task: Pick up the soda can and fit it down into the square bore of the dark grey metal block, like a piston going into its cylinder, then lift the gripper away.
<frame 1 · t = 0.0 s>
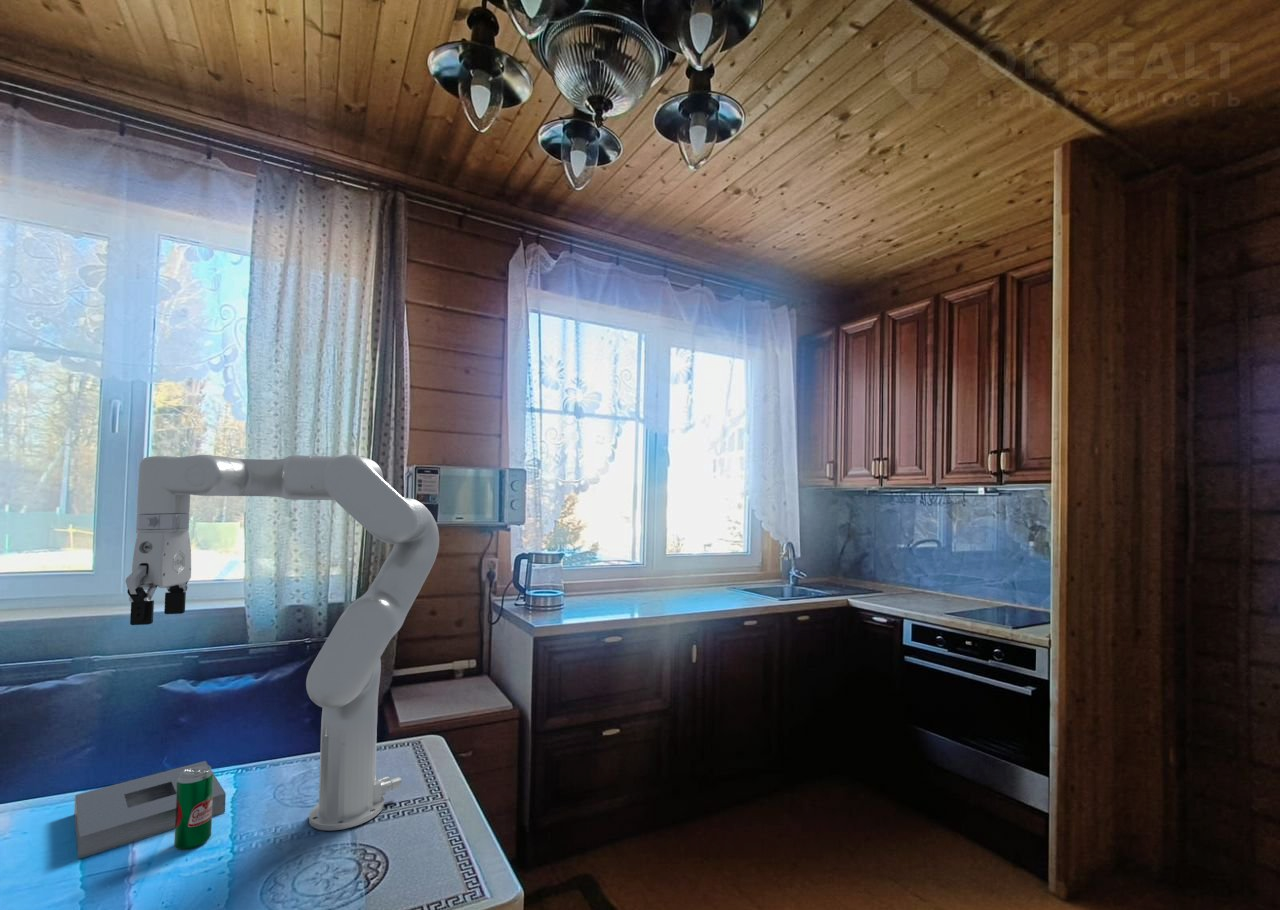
hand: (158, 618, 107), 37 cm above the table, tool pointing down, fingers open, 9 cm apart
soda can: (192, 844, 101), on the table
bore block: (149, 813, 111), on the table
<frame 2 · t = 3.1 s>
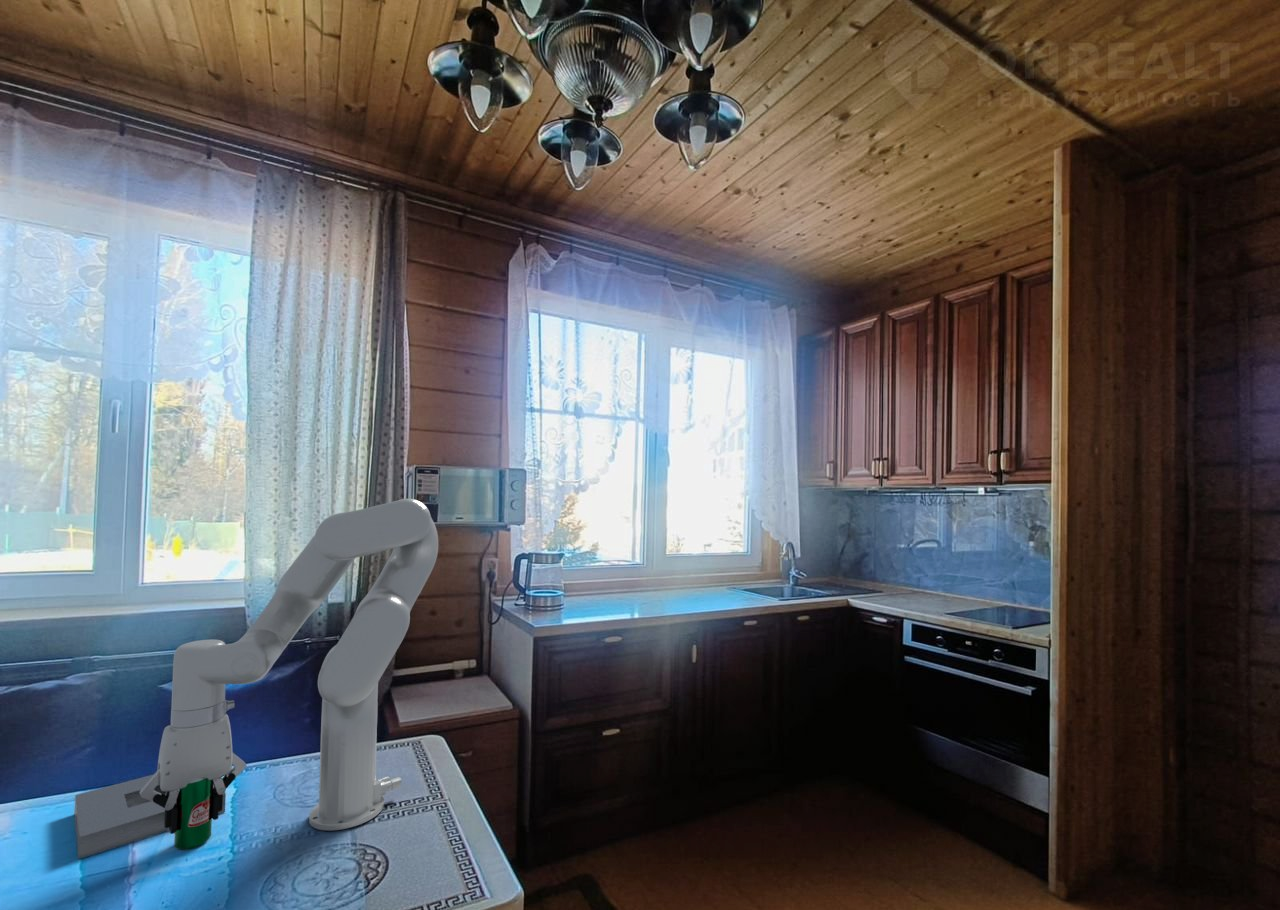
hand: (193, 822, 101), 3 cm above the table, tool pointing down, fingers closed on soda can, 5 cm apart
soda can: (192, 844, 101), on the table, touching gripper
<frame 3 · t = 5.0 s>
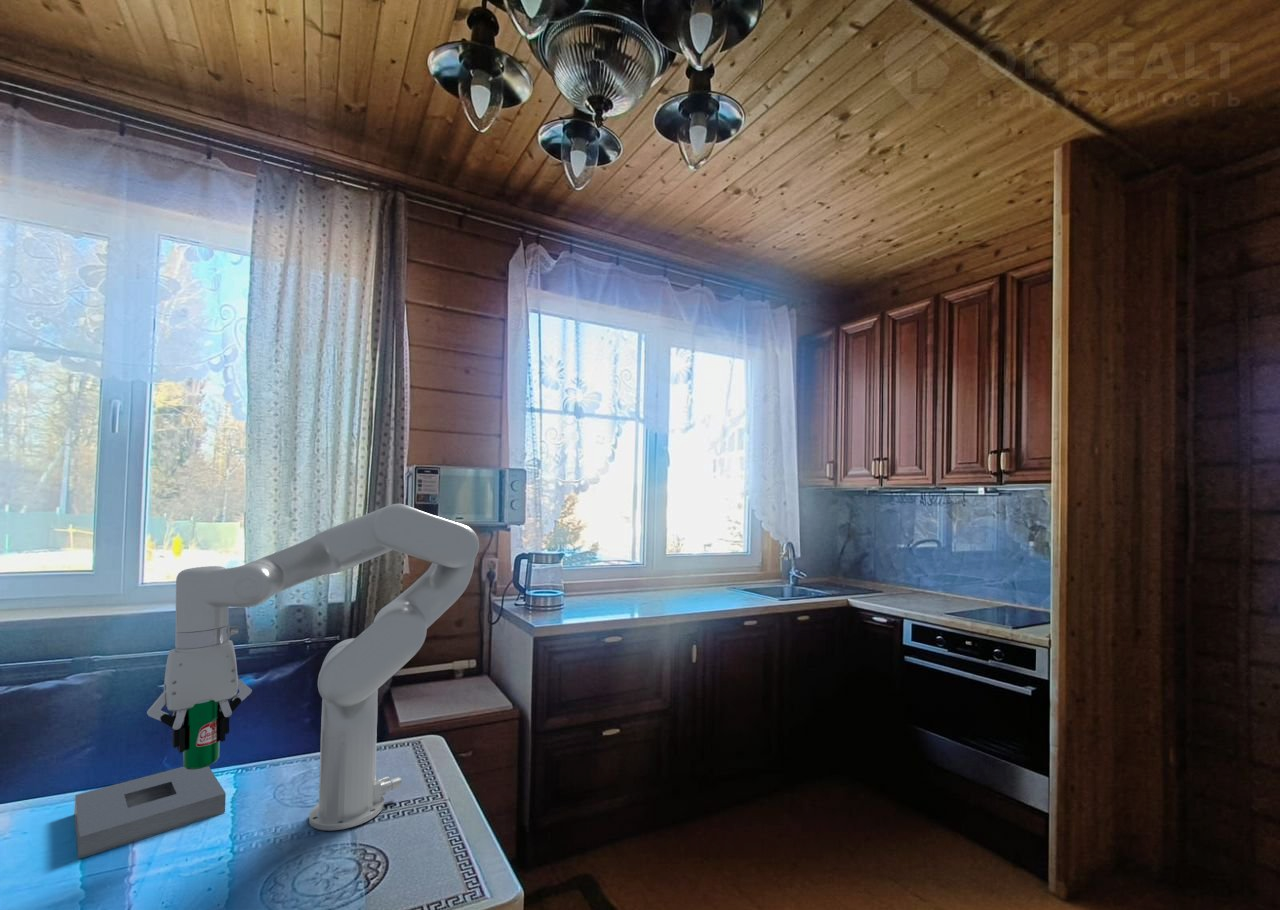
hand: (201, 743, 103), 16 cm above the table, tool pointing down, fingers closed on soda can, 5 cm apart
soda can: (201, 765, 102), point 13 cm above the table, touching gripper
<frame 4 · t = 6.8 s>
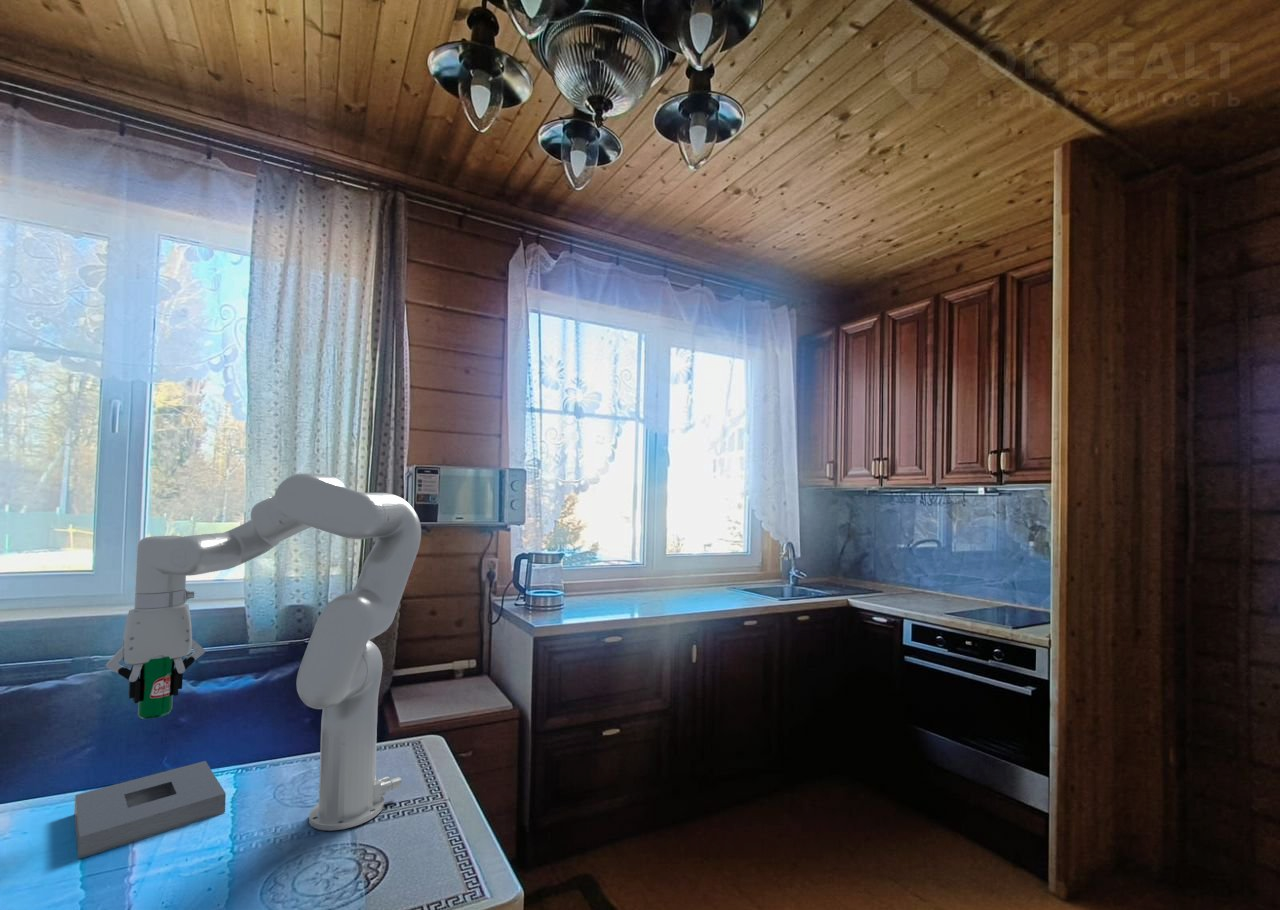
hand: (155, 696, 112), 21 cm above the table, tool pointing down, fingers closed on soda can, 5 cm apart
soda can: (155, 716, 112), point 18 cm above the table, touching gripper
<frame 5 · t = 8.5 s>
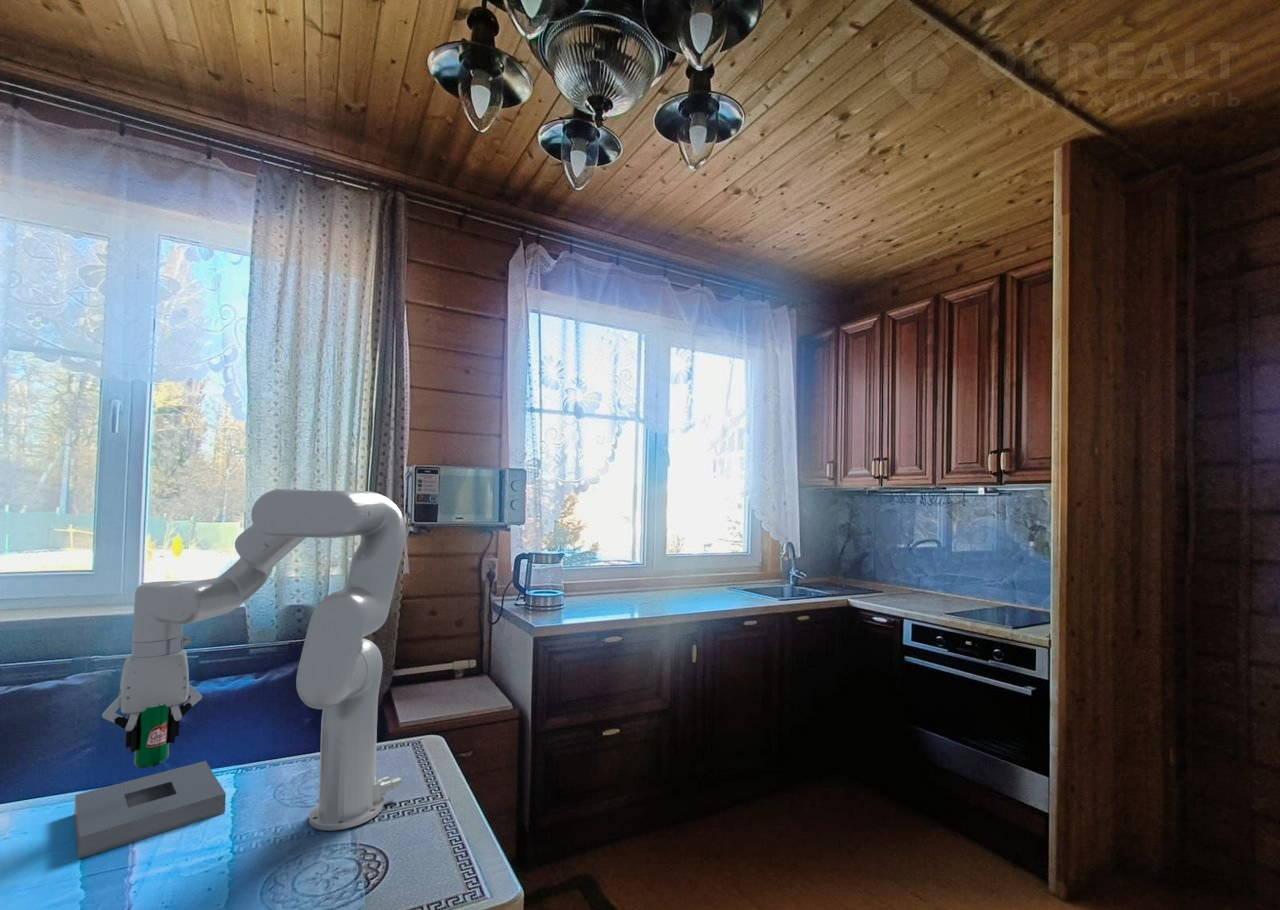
hand: (152, 744, 112), 13 cm above the table, tool pointing down, fingers closed on soda can, 5 cm apart
soda can: (151, 764, 112), point 9 cm above the table, touching gripper
when the fingers open (6 cm above the table, at t = 10.1 s): soda can drops 3 cm, resting in bore block.
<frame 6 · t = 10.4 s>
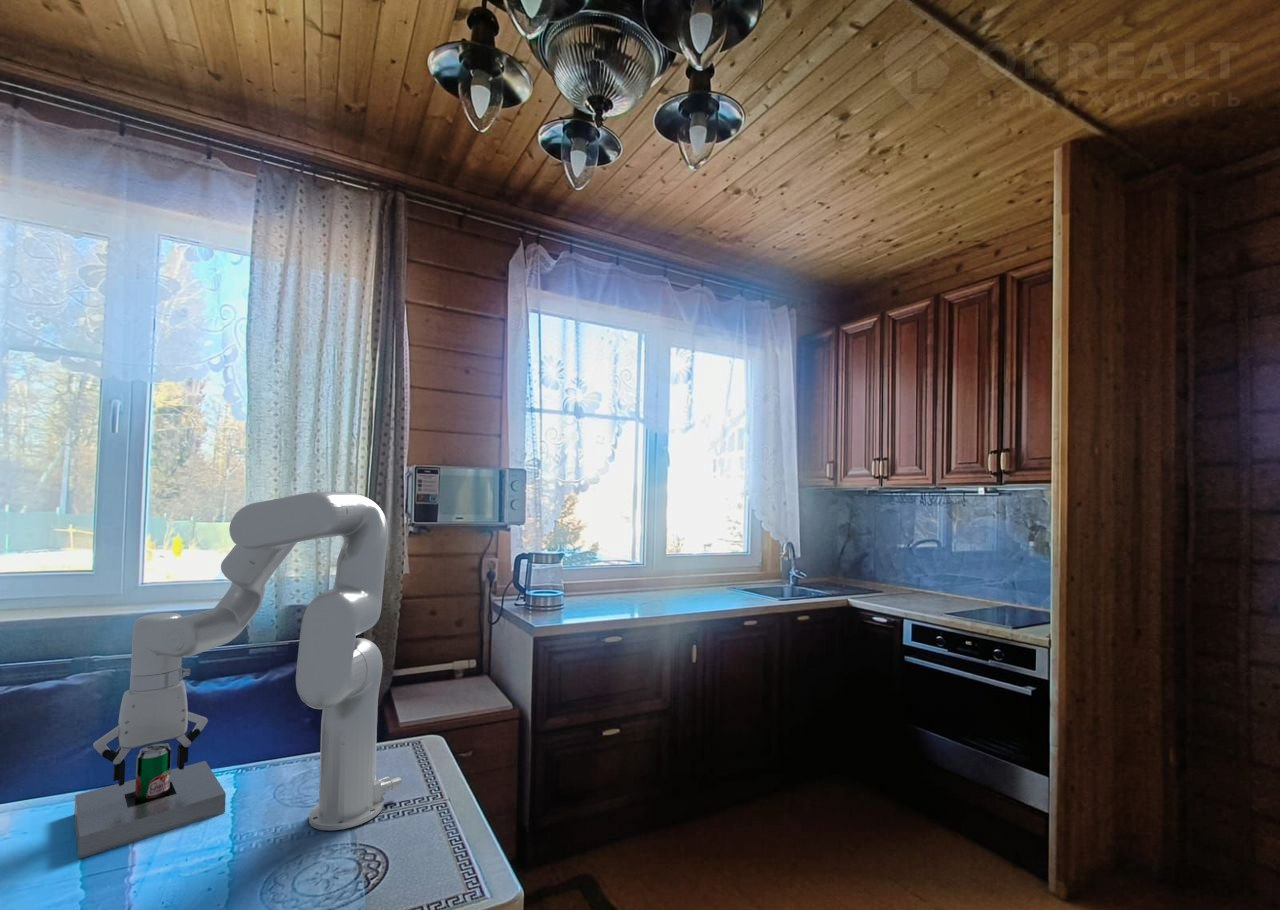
hand: (151, 774, 112), 7 cm above the table, tool pointing down, fingers open, 8 cm apart
soda can: (151, 814, 111), resting in bore block
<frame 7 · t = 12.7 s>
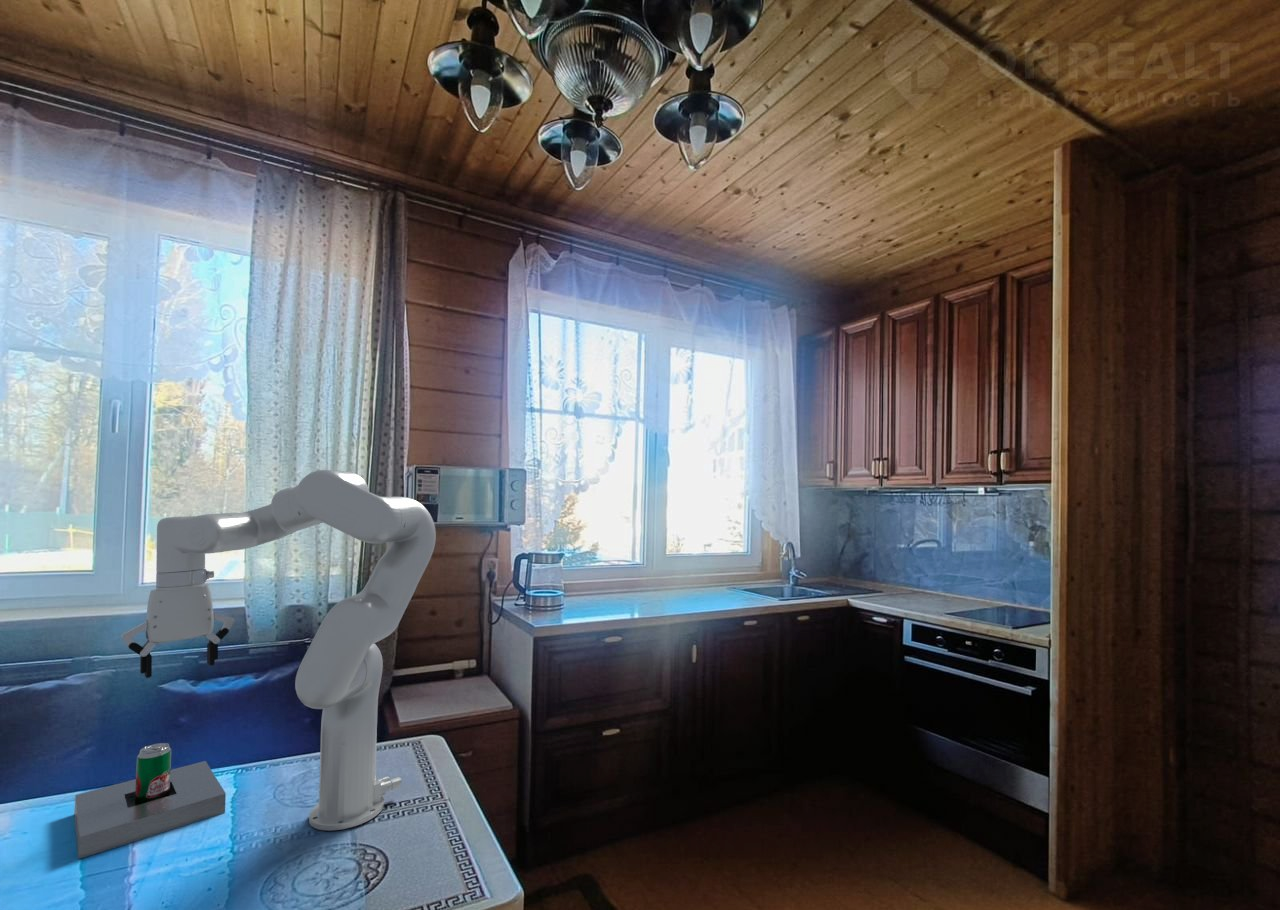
hand: (180, 670, 114), 26 cm above the table, tool pointing down, fingers open, 9 cm apart
nothing on the table moved.
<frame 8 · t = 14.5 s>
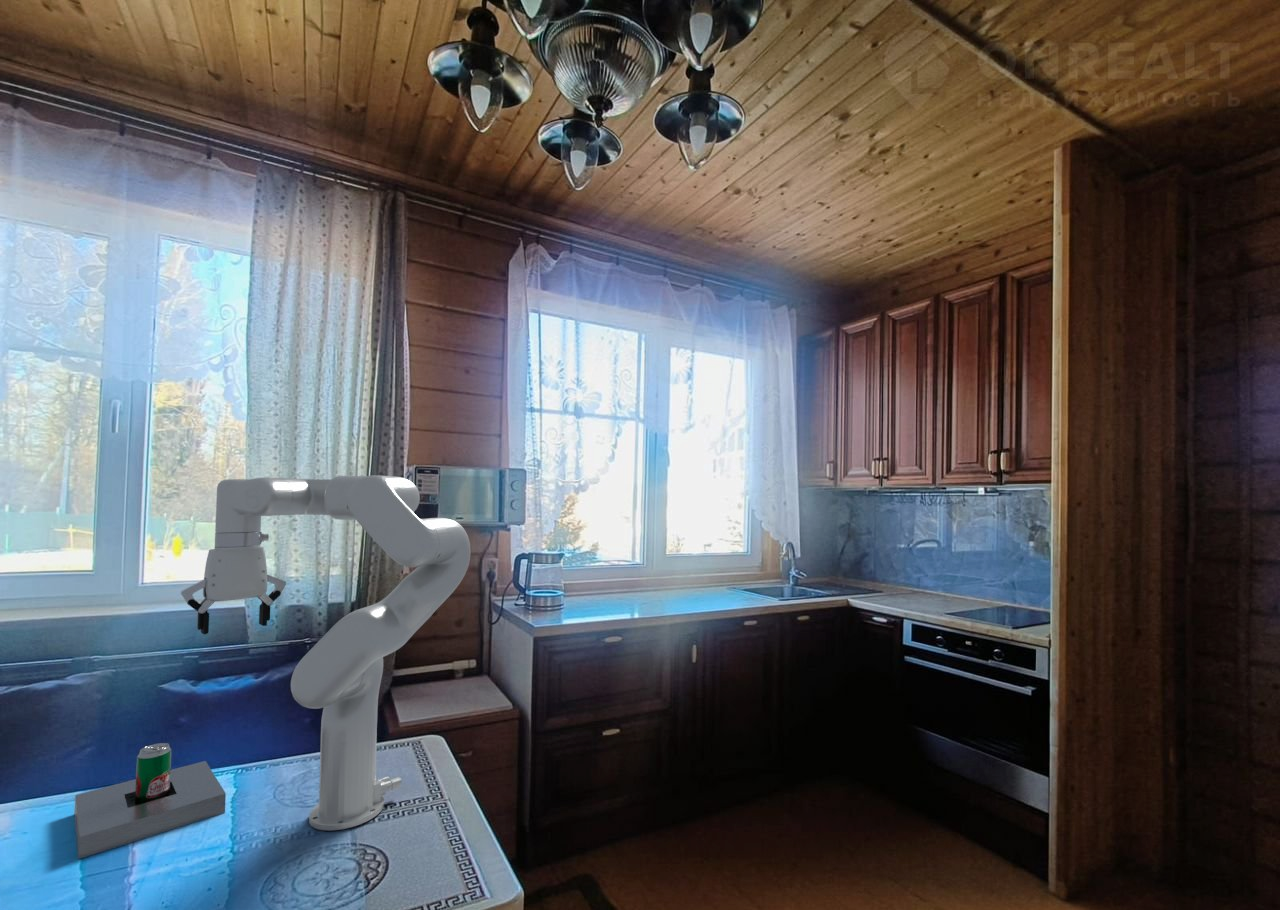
hand: (234, 628, 116), 33 cm above the table, tool pointing down, fingers open, 9 cm apart
nothing on the table moved.
at the end: soda can 0.4 cm off-centre on the bore block, point 0.0 cm above the bore block's base; soda can tilted 0°; the gripper is holding nothing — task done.
